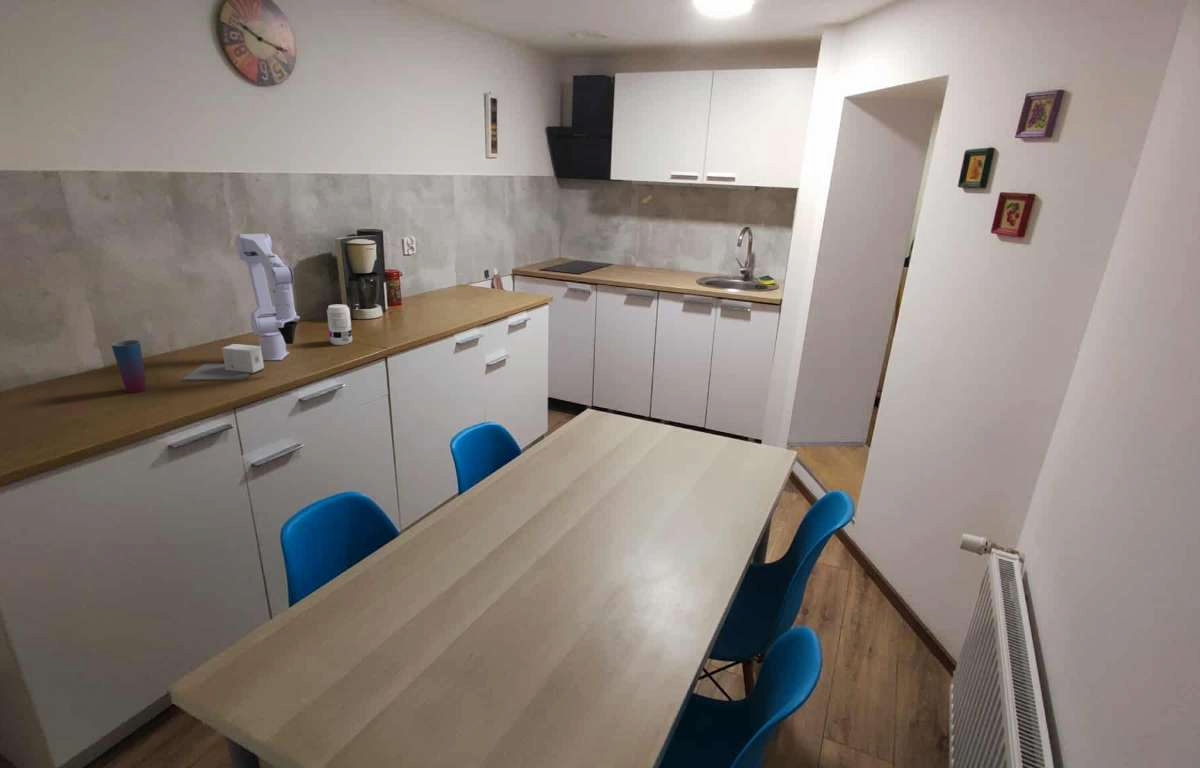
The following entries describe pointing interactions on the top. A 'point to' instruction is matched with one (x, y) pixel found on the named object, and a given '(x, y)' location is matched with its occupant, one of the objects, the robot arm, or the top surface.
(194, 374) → the display mat
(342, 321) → the supplement can
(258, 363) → the small box
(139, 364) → the cup
